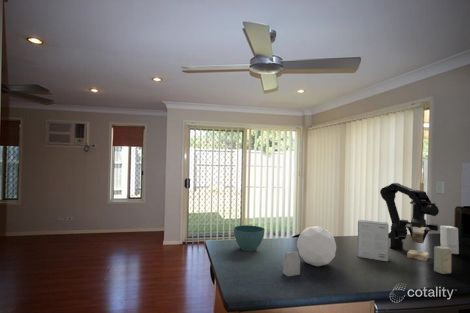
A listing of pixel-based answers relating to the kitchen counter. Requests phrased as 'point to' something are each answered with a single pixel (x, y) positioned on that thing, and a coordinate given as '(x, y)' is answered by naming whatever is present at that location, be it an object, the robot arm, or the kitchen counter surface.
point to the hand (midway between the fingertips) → (418, 239)
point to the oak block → (418, 255)
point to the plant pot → (248, 237)
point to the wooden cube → (417, 237)
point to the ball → (316, 246)
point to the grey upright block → (291, 264)
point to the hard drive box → (373, 240)
